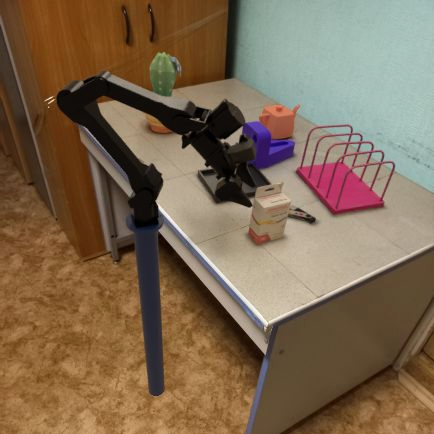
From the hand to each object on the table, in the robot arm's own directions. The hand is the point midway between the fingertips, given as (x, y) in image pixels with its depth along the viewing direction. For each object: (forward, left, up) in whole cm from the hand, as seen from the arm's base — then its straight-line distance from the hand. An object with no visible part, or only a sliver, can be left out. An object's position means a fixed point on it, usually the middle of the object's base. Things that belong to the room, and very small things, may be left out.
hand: (253, 196), depth 106 cm
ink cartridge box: (+4, -2, -12) cm, 13 cm away
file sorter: (+37, +13, -12) cm, 41 cm away
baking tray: (+7, +24, -12) cm, 28 cm away
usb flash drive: (+17, +3, -12) cm, 21 cm away
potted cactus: (-4, +68, -12) cm, 69 cm away
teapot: (+36, +53, -12) cm, 65 cm away
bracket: (+25, +37, -12) cm, 46 cm away
